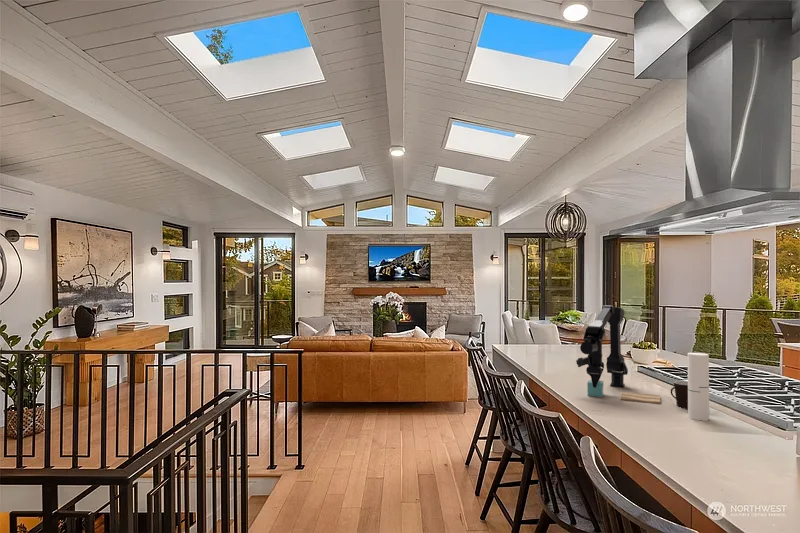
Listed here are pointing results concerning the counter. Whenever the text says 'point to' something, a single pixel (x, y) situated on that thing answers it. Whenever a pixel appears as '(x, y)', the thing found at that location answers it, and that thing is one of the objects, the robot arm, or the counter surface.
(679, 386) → the coffee mug
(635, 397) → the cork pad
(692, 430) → the counter surface
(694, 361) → the cylindrical container
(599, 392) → the tilted teal cube
